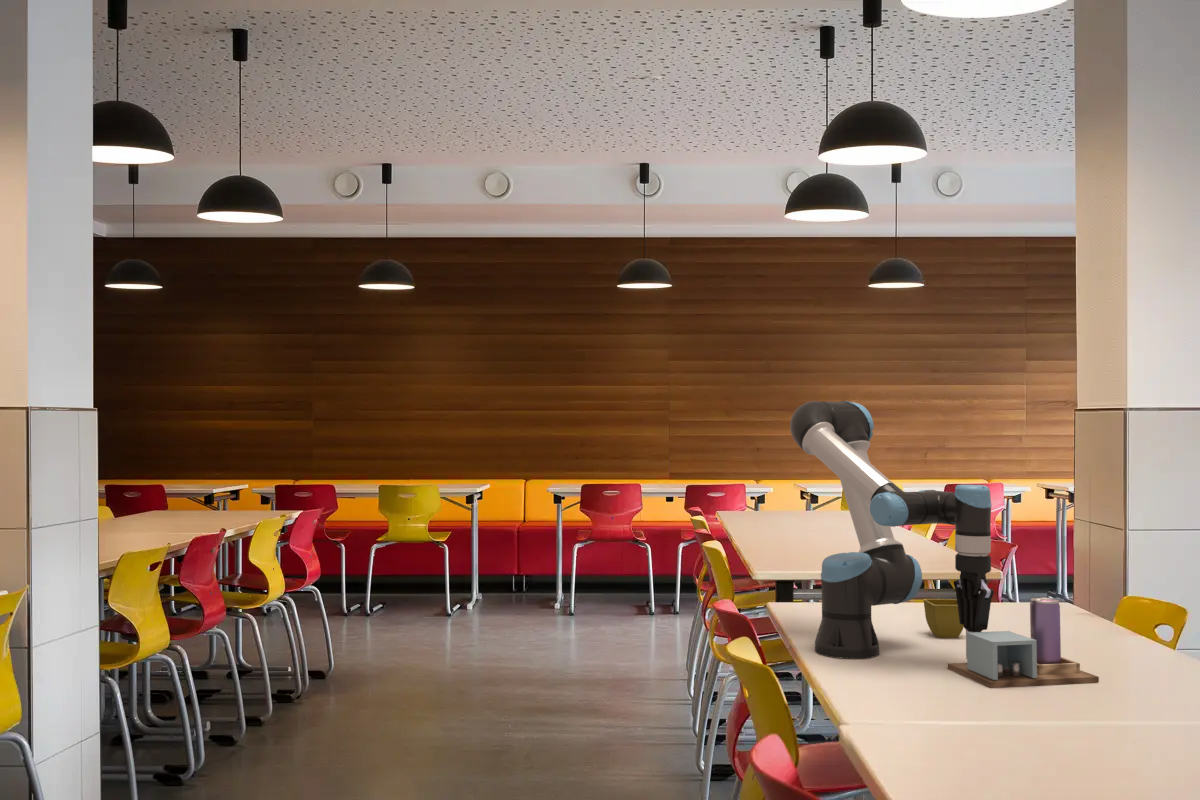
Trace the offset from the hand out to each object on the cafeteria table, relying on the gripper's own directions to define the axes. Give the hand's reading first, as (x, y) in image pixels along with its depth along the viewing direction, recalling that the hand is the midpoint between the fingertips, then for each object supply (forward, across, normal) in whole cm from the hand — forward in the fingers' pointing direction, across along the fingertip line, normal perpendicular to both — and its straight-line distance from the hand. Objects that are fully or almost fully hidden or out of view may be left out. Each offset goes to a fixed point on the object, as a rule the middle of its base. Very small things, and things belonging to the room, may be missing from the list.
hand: (973, 659), depth 220 cm
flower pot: (+3, +34, -12) cm, 36 cm away
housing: (0, -11, 0) cm, 11 cm away
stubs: (+1, -13, 0) cm, 13 cm away
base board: (+2, -8, -7) cm, 10 cm away
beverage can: (+1, -8, -13) cm, 15 cm away
